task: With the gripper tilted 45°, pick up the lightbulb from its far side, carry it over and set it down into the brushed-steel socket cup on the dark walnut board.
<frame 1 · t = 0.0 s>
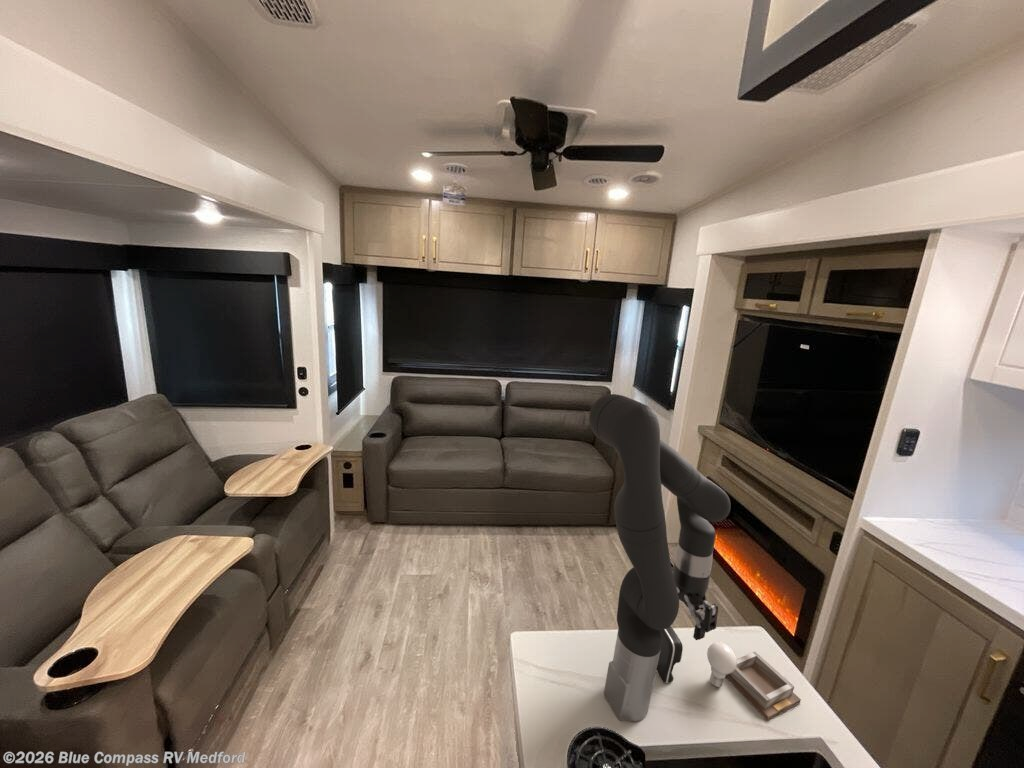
hand: (683, 623, 92), 17 cm above the counter, tool pointing down, fingers open, 8 cm apart
socket board: (757, 685, 97), on the counter
lightbulb: (715, 684, 97), on the counter
battery charger: (663, 671, 99), on the counter
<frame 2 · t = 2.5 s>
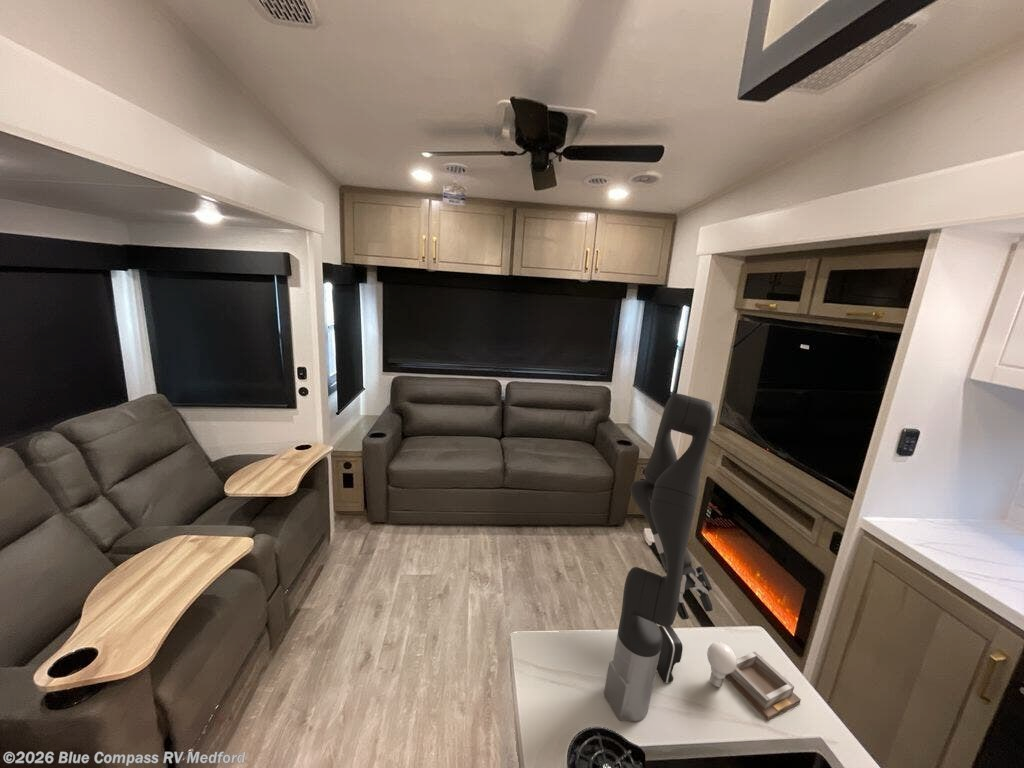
hand: (697, 615, 101), 13 cm above the counter, tool tilted 45°, fingers open, 8 cm apart
nothing on the counter moved.
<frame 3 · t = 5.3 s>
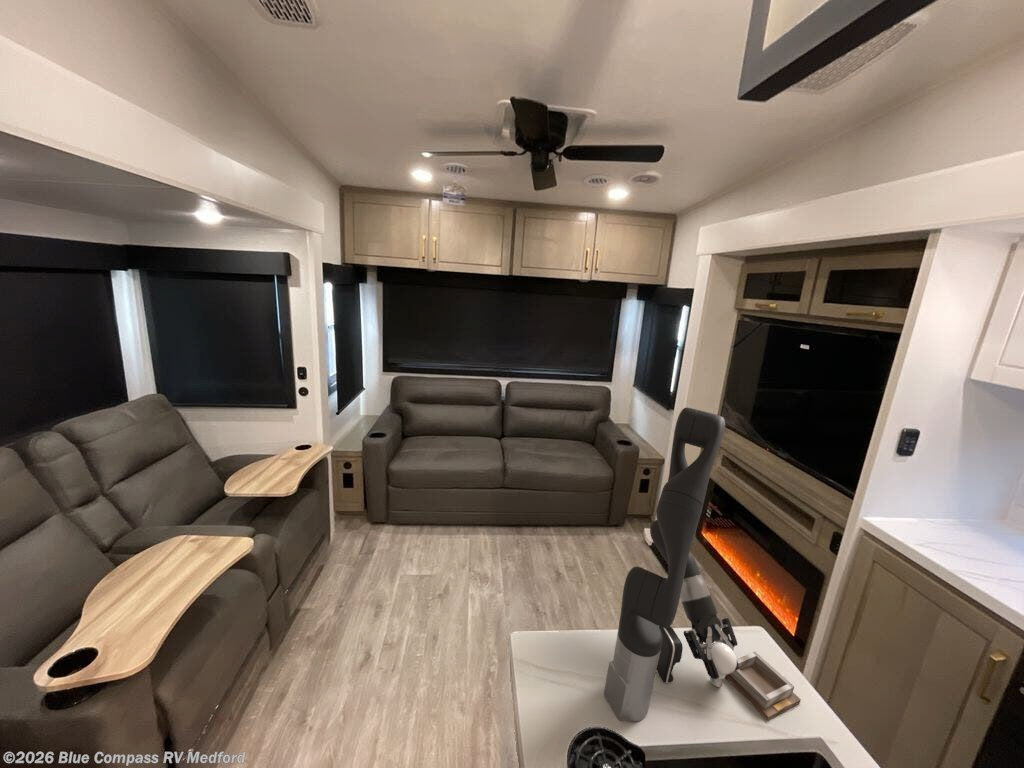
hand: (725, 673, 94), 5 cm above the counter, tool tilted 45°, fingers closed on lightbulb, 6 cm apart
lightbulb: (715, 684, 97), on the counter, touching gripper
everything else where it was.
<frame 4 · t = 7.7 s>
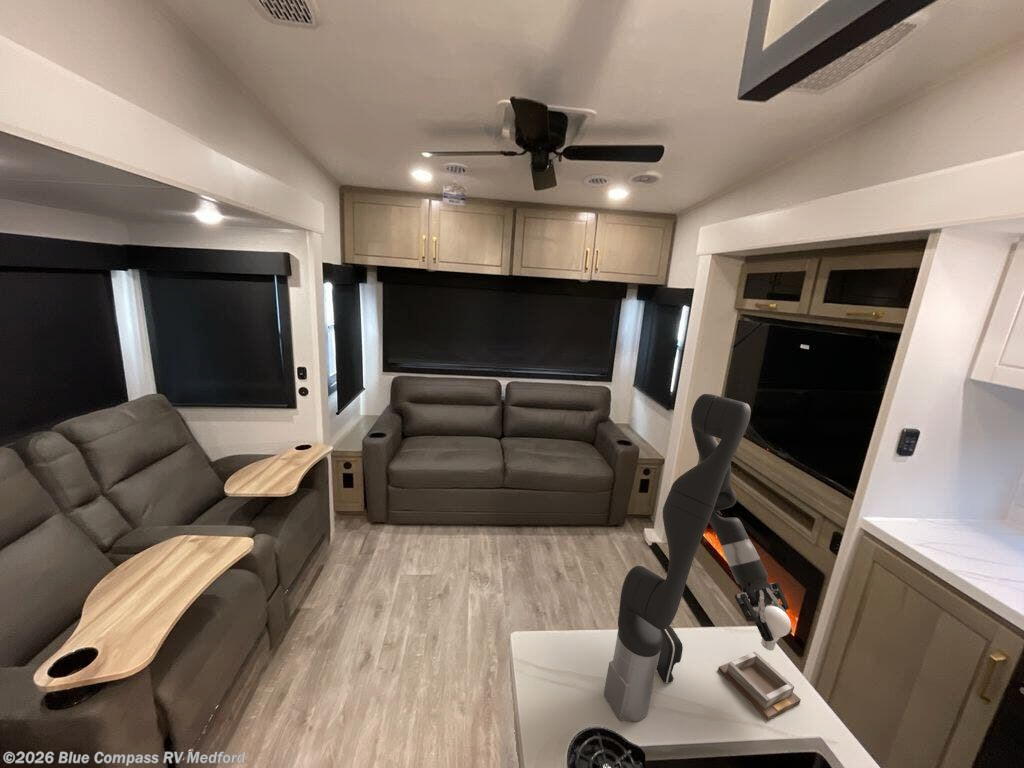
hand: (778, 636, 92), 16 cm above the counter, tool tilted 45°, fingers closed on lightbulb, 6 cm apart
lightbulb: (766, 648, 95), point 11 cm above the counter, touching gripper
everything else where it was.
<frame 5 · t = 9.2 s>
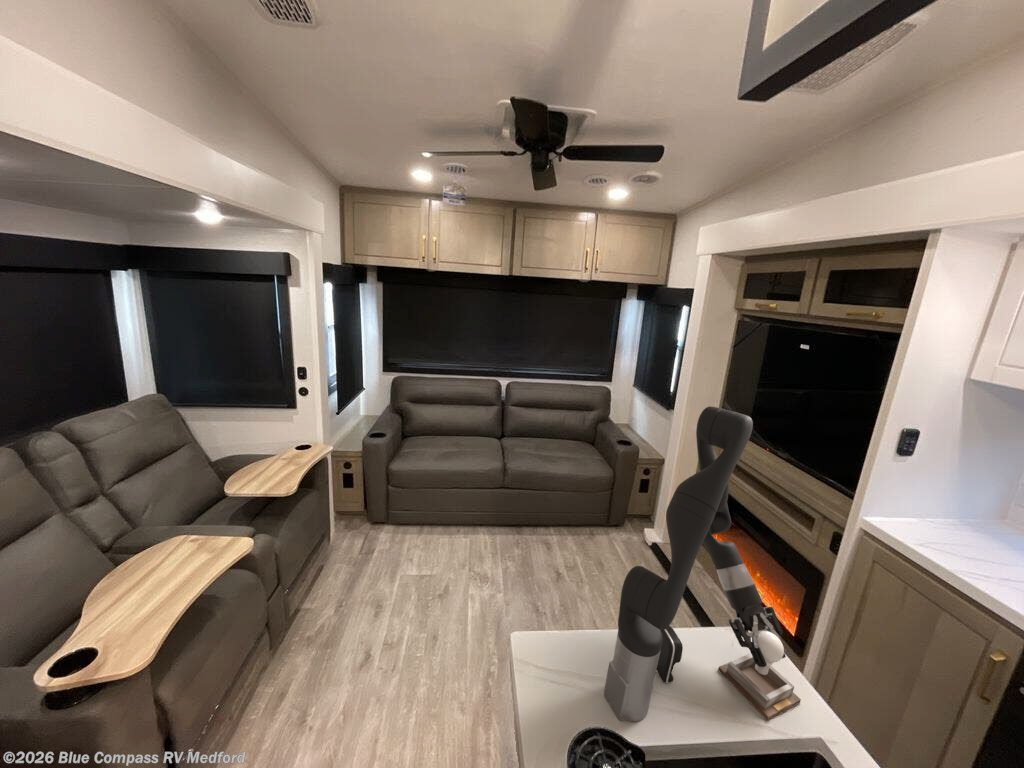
hand: (772, 661, 94), 9 cm above the counter, tool tilted 45°, fingers closed on lightbulb, 6 cm apart
lightbulb: (760, 672, 97), point 4 cm above the counter, touching gripper
everything else where it was.
when the fingers open (7 cm above the counter, at t = 10.2 s): lightbulb drops 1 cm, resting on socket board.
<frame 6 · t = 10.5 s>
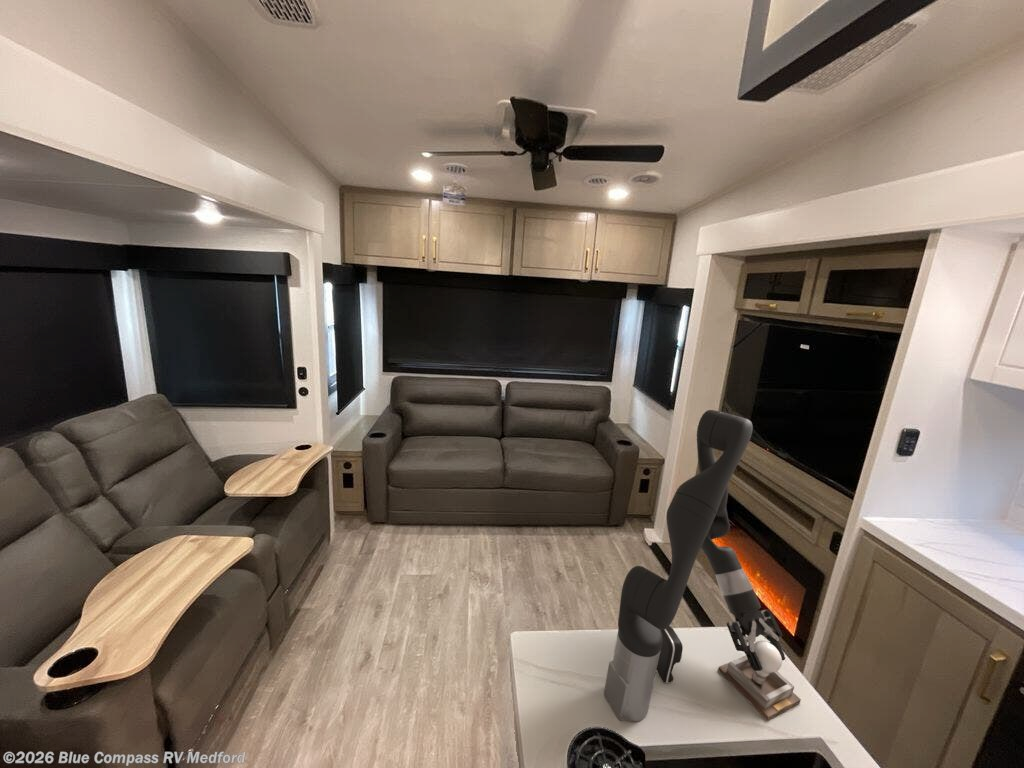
hand: (770, 665, 94), 8 cm above the counter, tool tilted 45°, fingers open, 8 cm apart
lightbulb: (757, 682, 97), point 1 cm above the counter, touching socket board
everything else where it was.
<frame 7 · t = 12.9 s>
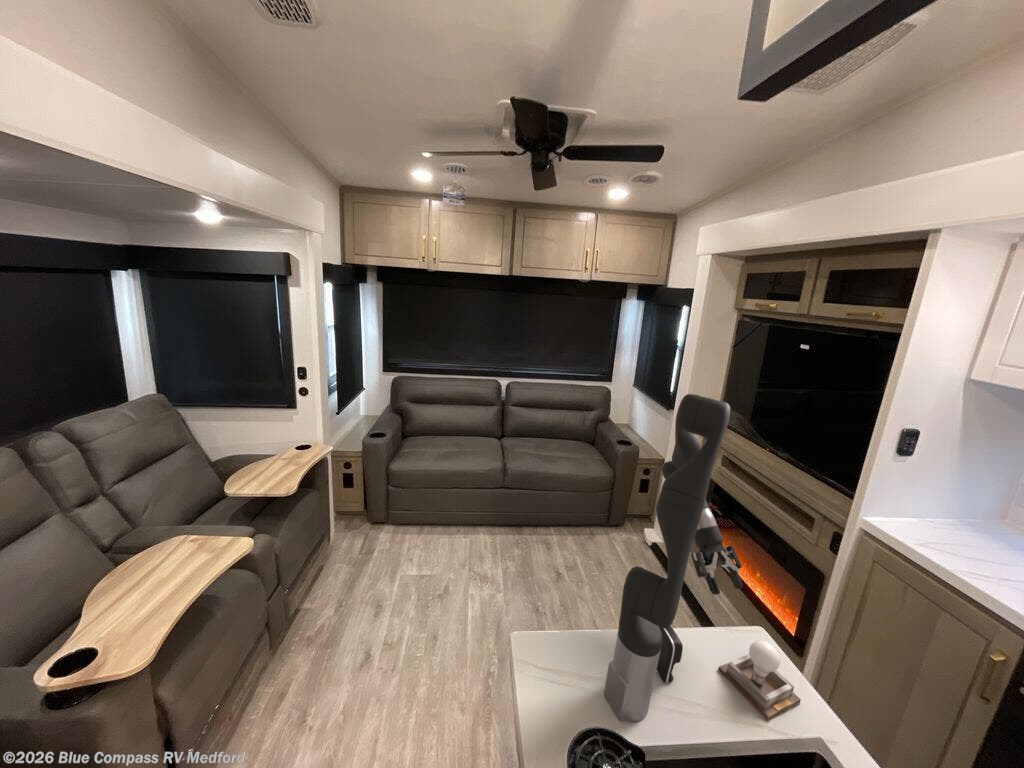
hand: (728, 591, 103), 18 cm above the counter, tool tilted 45°, fingers open, 8 cm apart
nothing on the counter moved.
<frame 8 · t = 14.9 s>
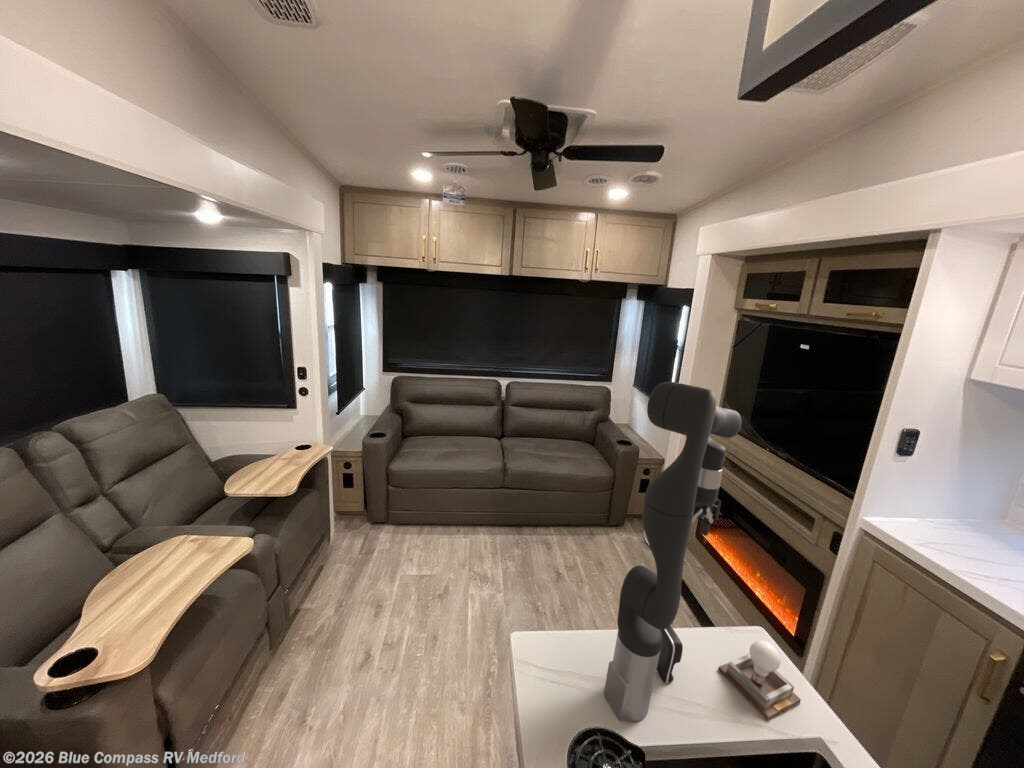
hand: (692, 536, 105), 30 cm above the counter, tool pointing down, fingers open, 8 cm apart
nothing on the counter moved.
at the end: lightbulb 0.3 cm off-centre on the socket board, point 0.8 cm above the socket board's base; lightbulb tilted 0°; the gripper is holding nothing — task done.
